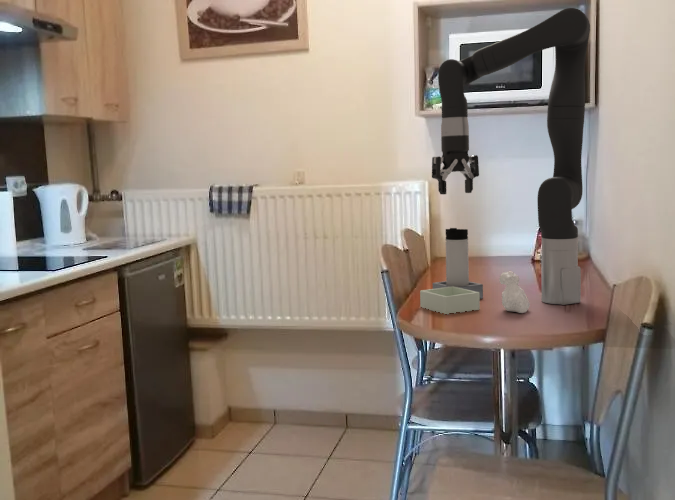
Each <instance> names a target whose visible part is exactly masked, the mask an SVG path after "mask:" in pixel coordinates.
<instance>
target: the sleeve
mask: <svg viewBox="0 0 675 500" xmlns="http://www.w3.org/2000/svg"><path fill="white" fill-rule="evenodd" d="M444 287H451V286H448V285H446V280H444V281H436V282H432V289H436V288H444ZM458 288H463V289H467V290H471V291H475V292H479V295H480V300H482V299H484V284H483V283H479V282H476V281H475V282H474V281H470V280H469V285H467V286H460V287H458Z"/></svg>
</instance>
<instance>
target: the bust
mask: <svg viewBox="0 0 675 500" xmlns="http://www.w3.org/2000/svg"><path fill="white" fill-rule="evenodd" d="M498 279H499V283H500V284H501V285H505V288H504V290H503V291H502V292H501V305H502V306H503V308H504V309H505V310H506V311H507V312H514V313H519V314H523V313H524V314H526V313H527V311H528V310H529V309H530V301H529V298H528V297H527V294H526V292H525V290H524V289H523V288H521V286H519V283H520V276H519V275H518V274H516V273H515V272H513V271H511V270H509V271H507V272H506V271H503V272H502V273H501V274H500V276H499V278H498Z"/></svg>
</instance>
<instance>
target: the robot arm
mask: <svg viewBox="0 0 675 500" xmlns="http://www.w3.org/2000/svg"><path fill="white" fill-rule="evenodd" d="M590 32H591V25H590V20H589V18H588V17H587V15H586V14H585V13H584V12H583V10H581V9H579V8H576V7H567V8H563V9H561V10H560V11H557V13H554V14H553V15H552V16H550V17H548V18H546V19H544V20H543V21H541V22H540V23H537V24H536V25H534V26H533V27H530V28H529V29H526V30H525V31H522V32H520V33H516V34H515V35H512V36H510V37H507V38H505V39H502V40H500V41H497V42H494V43H492V44H490V45H486V46H485V47H482V48H479V49H477V50H475V51H474V52H473V53H472V55H469V56H468V57H465V58H463V59H461V60H457V59H455V58H454V59H452V58H451V59H446V60H445V61H443V62H442V63H441V65H440V66H439V68H438V73H437V74H438V75H437V78H438V79H437V80H438V81H437V82H438V88H439V93H440V95H439V96H440V100H441V123H440V137H441V139H440V141H441V153H442V155H441V156H440V155H439V156H432V158H431V178H432V179H434V180H437V183H438V184H437V185H438V192H439V194H440V195H447V178H448V176H449V175H450V174H451V173H452V172H453V173H455V172H460V174H462V175H463V177H464V178H465V180H464V192H465V194H471V193H472V191H473V190H474V179H475V178H477V177H479V176H480V166H479V156H478V155H477V154H476V155H475V154H474V155H473V154H472V155H469V151H470V128H469V127H470V125H469V117H468V114H469V113H468V112H469V111H468V109H469V108H468V100H467V98H466V95H465V88H464V86H467V85H468V84H471V83H472V82H473V83H474V82H475V81H477V80H478V79H480V78H482V77H484V76H487V75H490V74H493V73H496V72H498V71H502V70H504V69H505V68H508V67H510V66H512V65H515V64H516V63H518V62H519V61H520V62H521V61H522V60H523V59H525V58H527V57H529V56H531V55H533V54H535V53H538V52H540V51H543V50H547V49H551V48H554V51H555V52H554V53H555V55H554V57H555V58H554V59H555V65H554V73H553V77H552V82H551V85H550V90H549V95H548V101H547V114H546V116H547V117H546V127H547V133H548V137H549V141H550V144H551V147H552V152H553V162H554V164H553V175H552V176H551V177H548V178H547V179H545V180H543V181H542V183H541V184H540V185H539V188H538V191H537V218H538V219H537V222H538V227H539V230H540V234H541V302H543V303H546V304H552V305H561V306H562V305H563V306H564V305H571V304H572V305H573V304H578V303H581V299H582V298H581V289H582V288H581V287H582V286H581V279H582V278H581V277H582V276H581V274H582V273H581V272H582V271H581V270H582V269H581V267H580V265H578V263H579V262H578V259H579V249H578V248H579V247H578V246H579V243H578V242H579V230H578V226H577V225H575V223H574V221H573V210H574V209H576V208H577V206H578V205H579V204H580V203H581V201H582V198H583V170H582V153H583V140H584V127H585V126H584V124H585V113H586V112H585V111H586V80H585V79H586V78H585V65H586V63H585V62H586V56H587V49H588V43H589V37H590ZM468 163H469V164H468ZM442 165H443V166H442ZM441 166H442V167H441Z"/></svg>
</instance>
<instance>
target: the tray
mask: <svg viewBox="0 0 675 500" xmlns="http://www.w3.org/2000/svg"><path fill="white" fill-rule="evenodd" d="M419 295H420V296H419V297H420V299H419V300H420V301H419V302H420V303H419V304H420V308H421V307H422V309H425V308H426V309H425V310H428V309H429V310H428V311H431V312H435V311H436V312H435V313H438V312H440V313H439V314H442V313H444V314H443V315H445V314H447V315H450V314H449V313H454V314H457V313H456V312H460V313H465V311H467V312H472V310H474V311H479V310H480V308H481V306H480V304H481V303H480V301H481V299H480V295H479V292H475V291H471V290H467V289H463V288H458V287H454V286H451V287H444V288H436V289H433V288H431V289H430V288H429V289H422V290H421V289H420V292H419Z"/></svg>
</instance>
